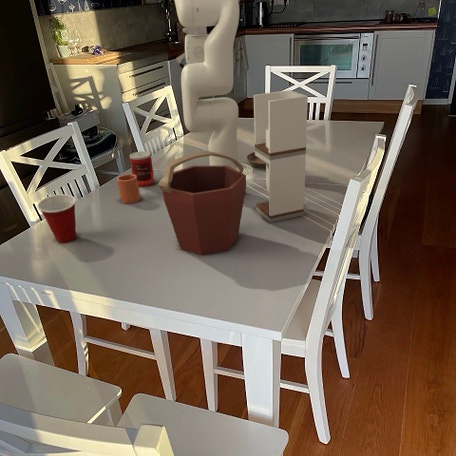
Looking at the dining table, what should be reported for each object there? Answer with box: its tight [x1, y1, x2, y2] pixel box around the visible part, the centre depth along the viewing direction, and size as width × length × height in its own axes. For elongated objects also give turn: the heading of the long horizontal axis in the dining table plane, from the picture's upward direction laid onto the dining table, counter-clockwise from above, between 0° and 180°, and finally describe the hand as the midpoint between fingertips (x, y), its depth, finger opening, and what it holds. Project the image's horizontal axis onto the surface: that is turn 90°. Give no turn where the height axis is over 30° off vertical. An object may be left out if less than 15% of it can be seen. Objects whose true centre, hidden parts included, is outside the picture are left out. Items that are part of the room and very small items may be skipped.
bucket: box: [157, 150, 247, 256], centre depth 131 cm, size 24×22×25 cm
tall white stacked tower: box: [253, 89, 309, 223], centre depth 142 cm, size 11×11×35 cm
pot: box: [116, 173, 141, 204], centre depth 165 cm, size 7×7×8 cm
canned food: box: [129, 150, 155, 188], centre depth 177 cm, size 8×8×11 cm
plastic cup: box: [36, 193, 77, 244], centre depth 140 cm, size 11×11×12 cm
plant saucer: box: [246, 151, 266, 169], centre depth 191 cm, size 18×18×3 cm
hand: (200, 80), depth 187 cm, fingers open, 9 cm apart
